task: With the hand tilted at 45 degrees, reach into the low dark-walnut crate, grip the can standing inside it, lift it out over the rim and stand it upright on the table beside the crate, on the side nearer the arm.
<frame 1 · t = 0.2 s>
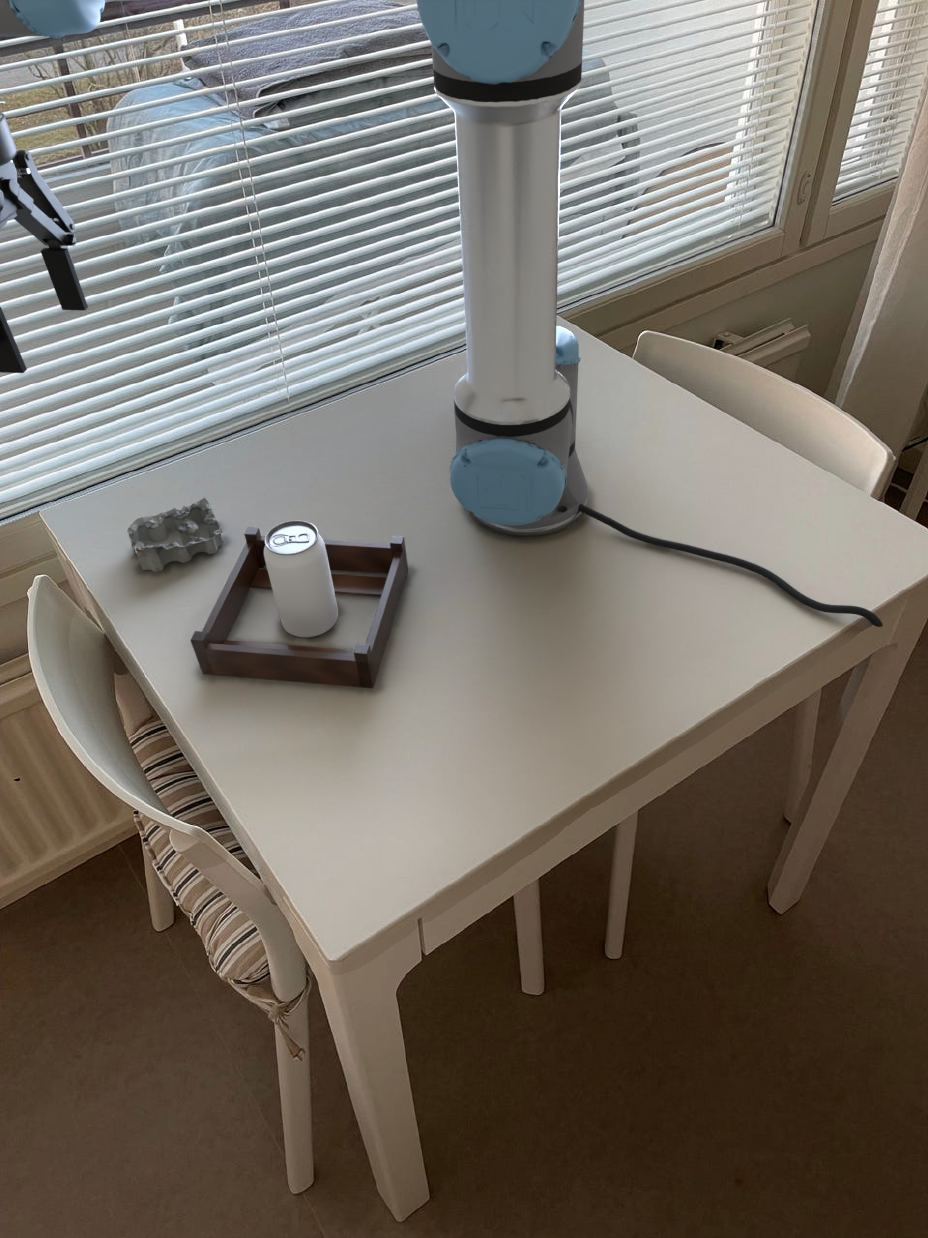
hand: (45, 338, 97), 28 cm above the table, tool pointing down, fingers open, 13 cm apart
can: (310, 620, 105), resting in crate
crate: (310, 619, 105), on the table
egg carton: (179, 547, 116), on the table
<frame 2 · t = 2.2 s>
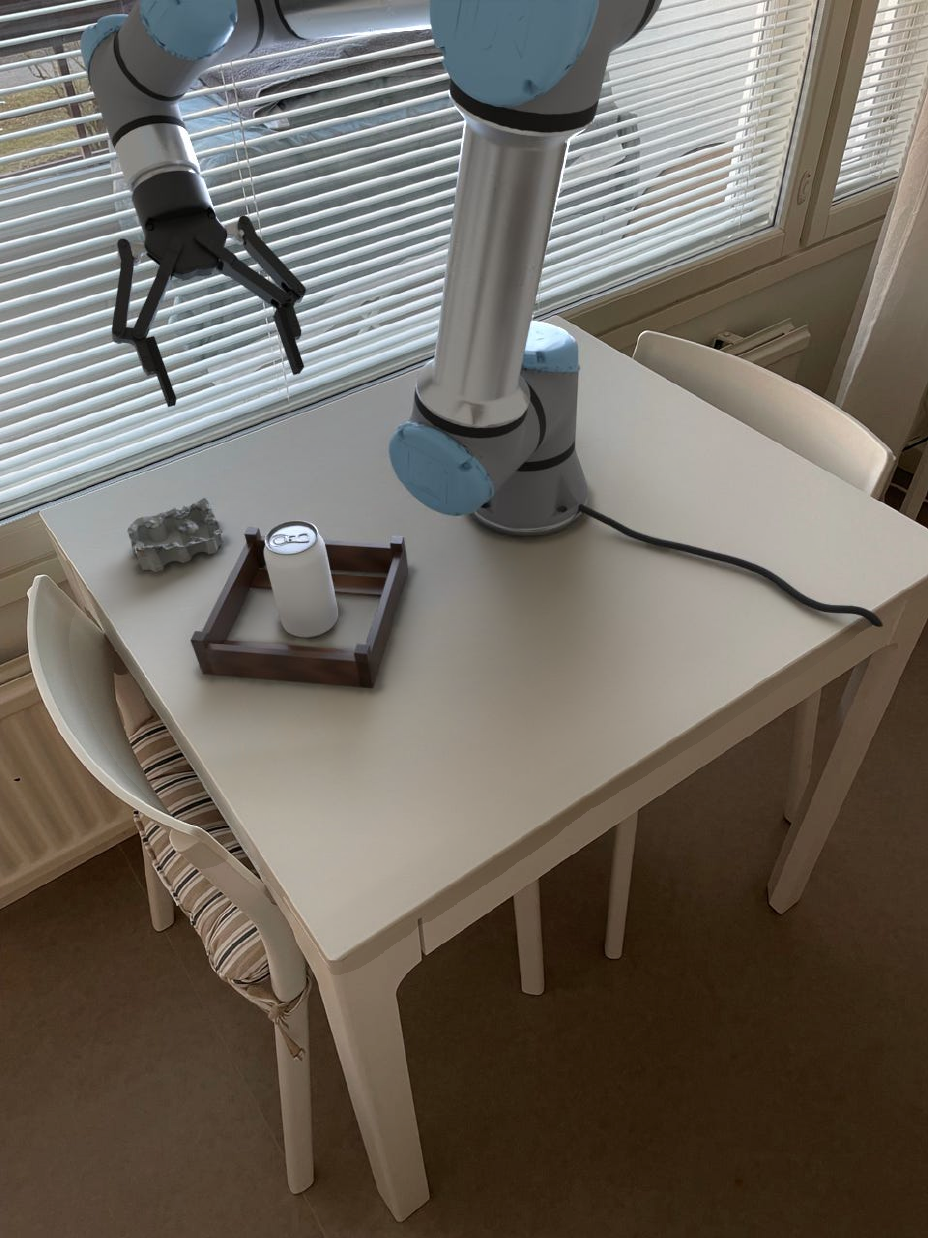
hand: (237, 387, 97), 23 cm above the table, tool tilted 40°, fingers open, 13 cm apart
nothing on the table moved.
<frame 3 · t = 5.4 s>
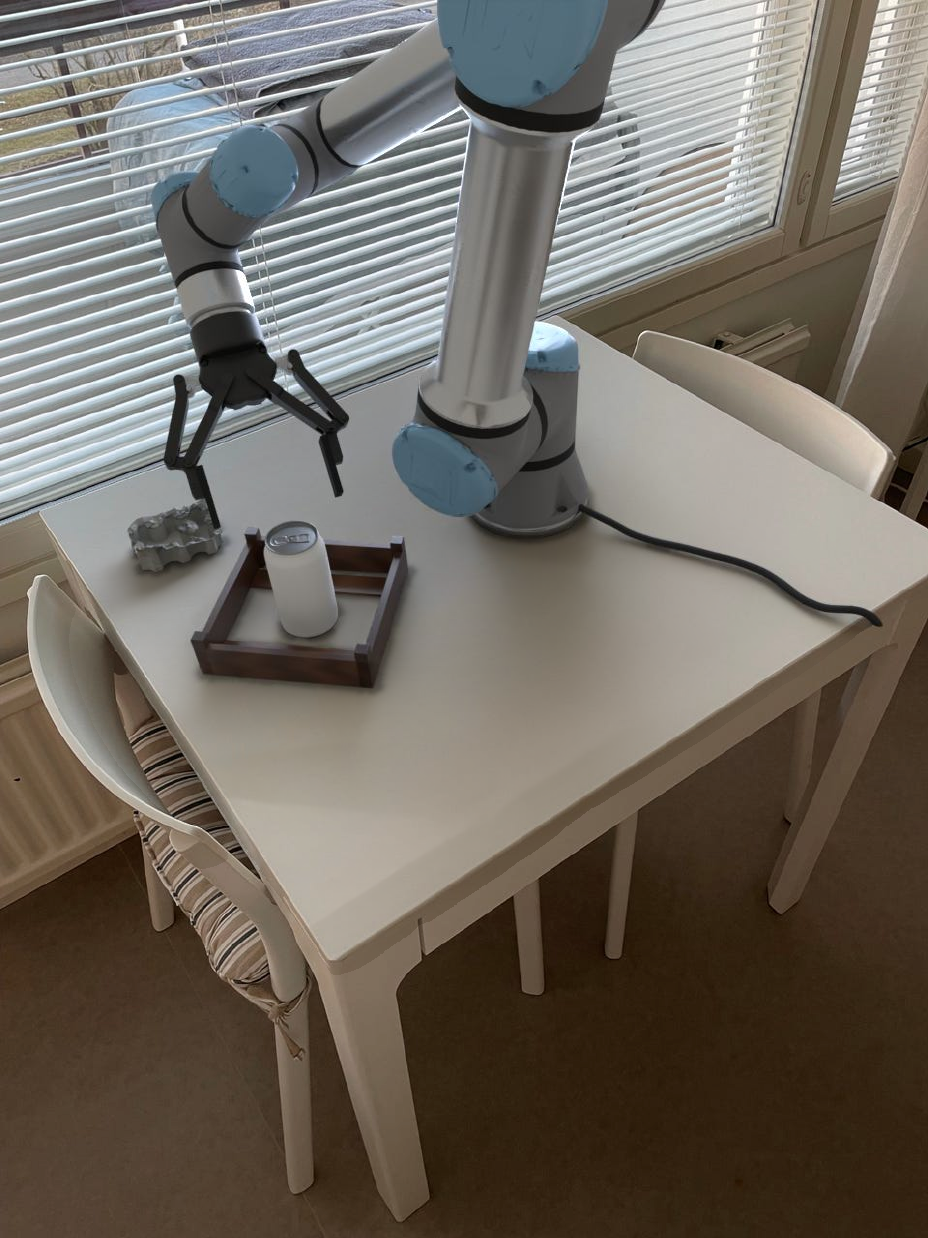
hand: (279, 510, 101), 11 cm above the table, tool tilted 45°, fingers open, 13 cm apart
nothing on the table moved.
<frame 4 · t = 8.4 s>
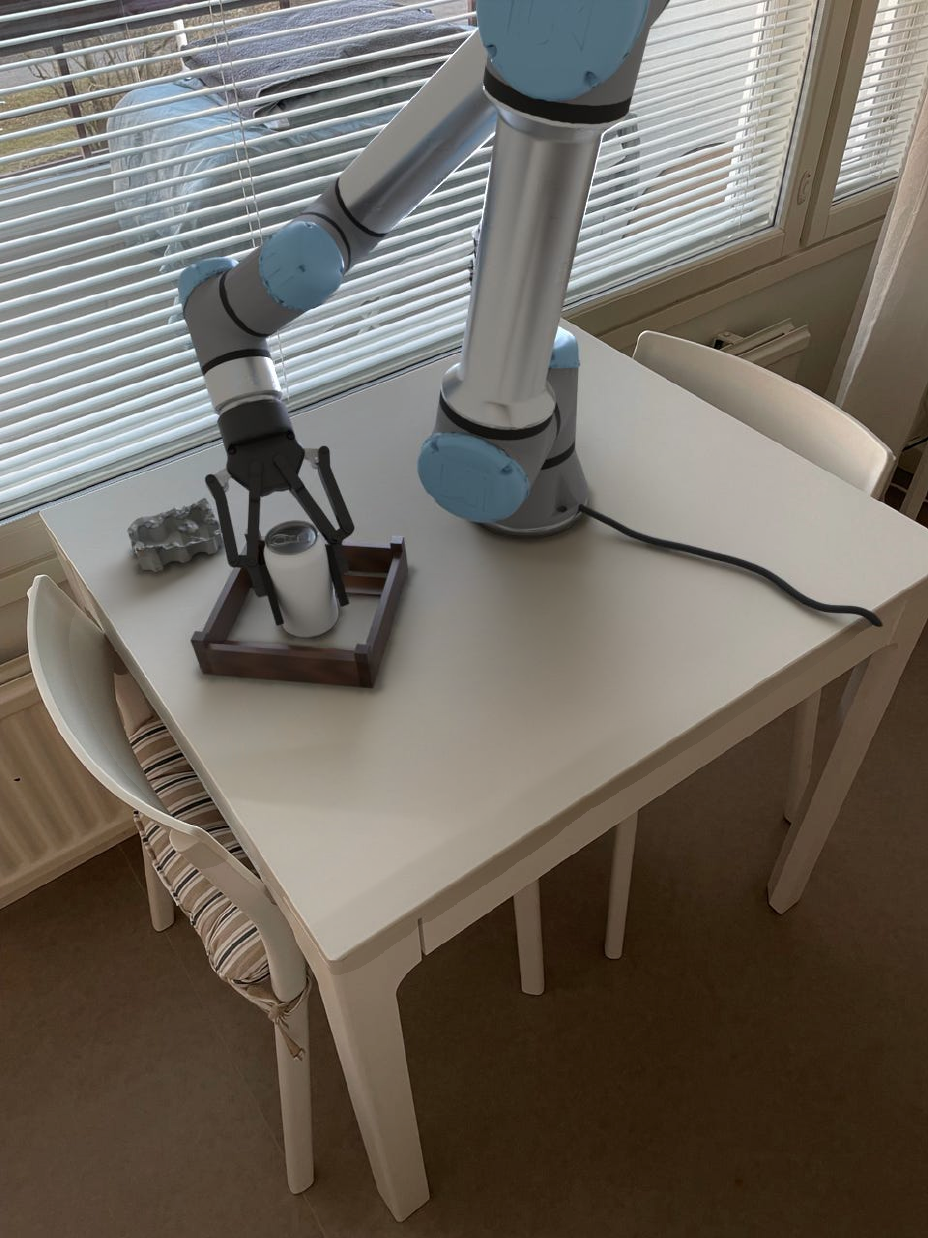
hand: (312, 614, 100), 4 cm above the table, tool tilted 45°, fingers closed on can, 6 cm apart
can: (310, 620, 105), resting in crate, touching gripper
everything else where it was.
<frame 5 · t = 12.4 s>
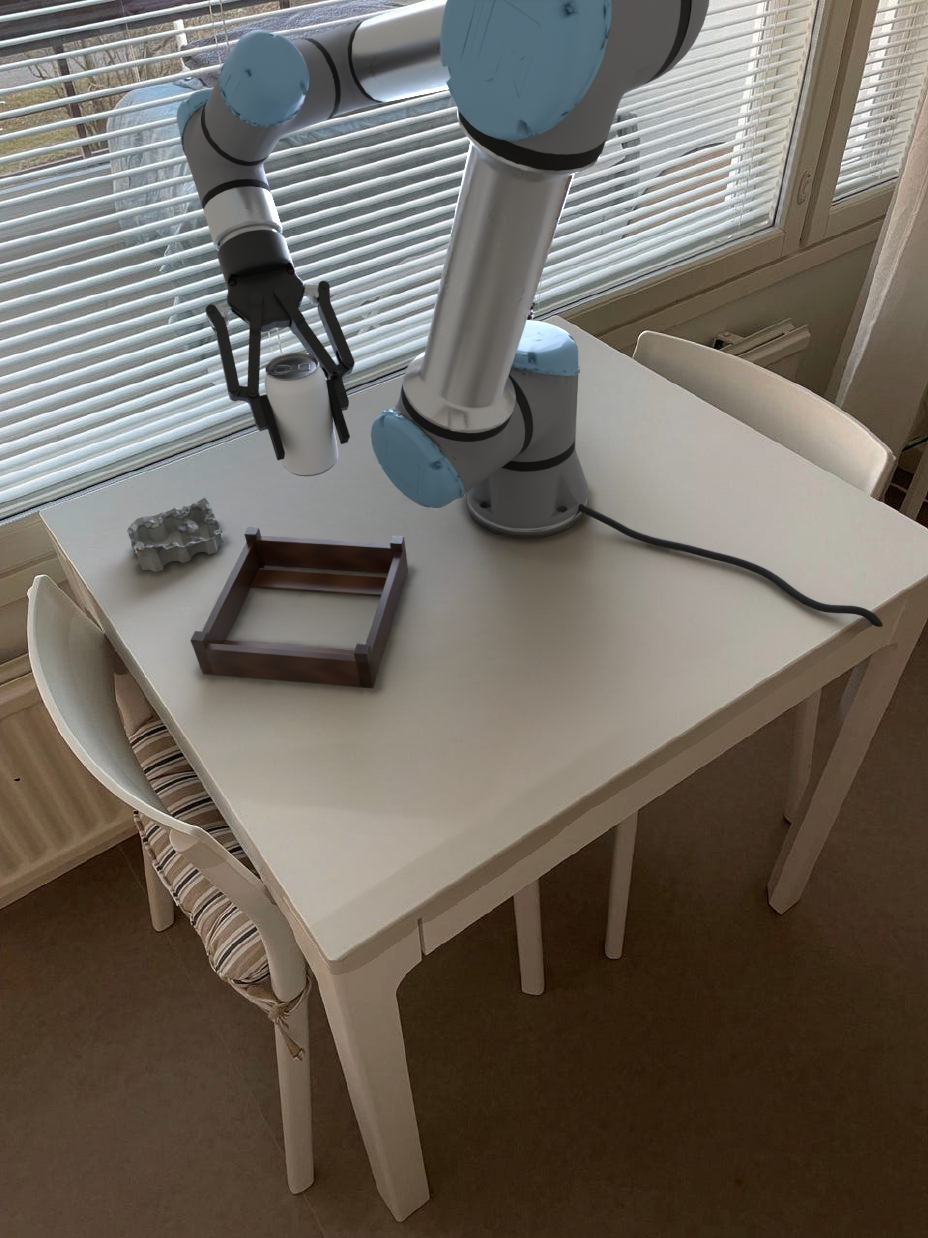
hand: (313, 448, 101), 16 cm above the table, tool tilted 45°, fingers closed on can, 6 cm apart
can: (311, 462, 106), point 12 cm above the table, touching gripper
everything else where it was.
when the fingers open (4 cm above the table, at t = 16.6 s): can stays where it is, on the table.
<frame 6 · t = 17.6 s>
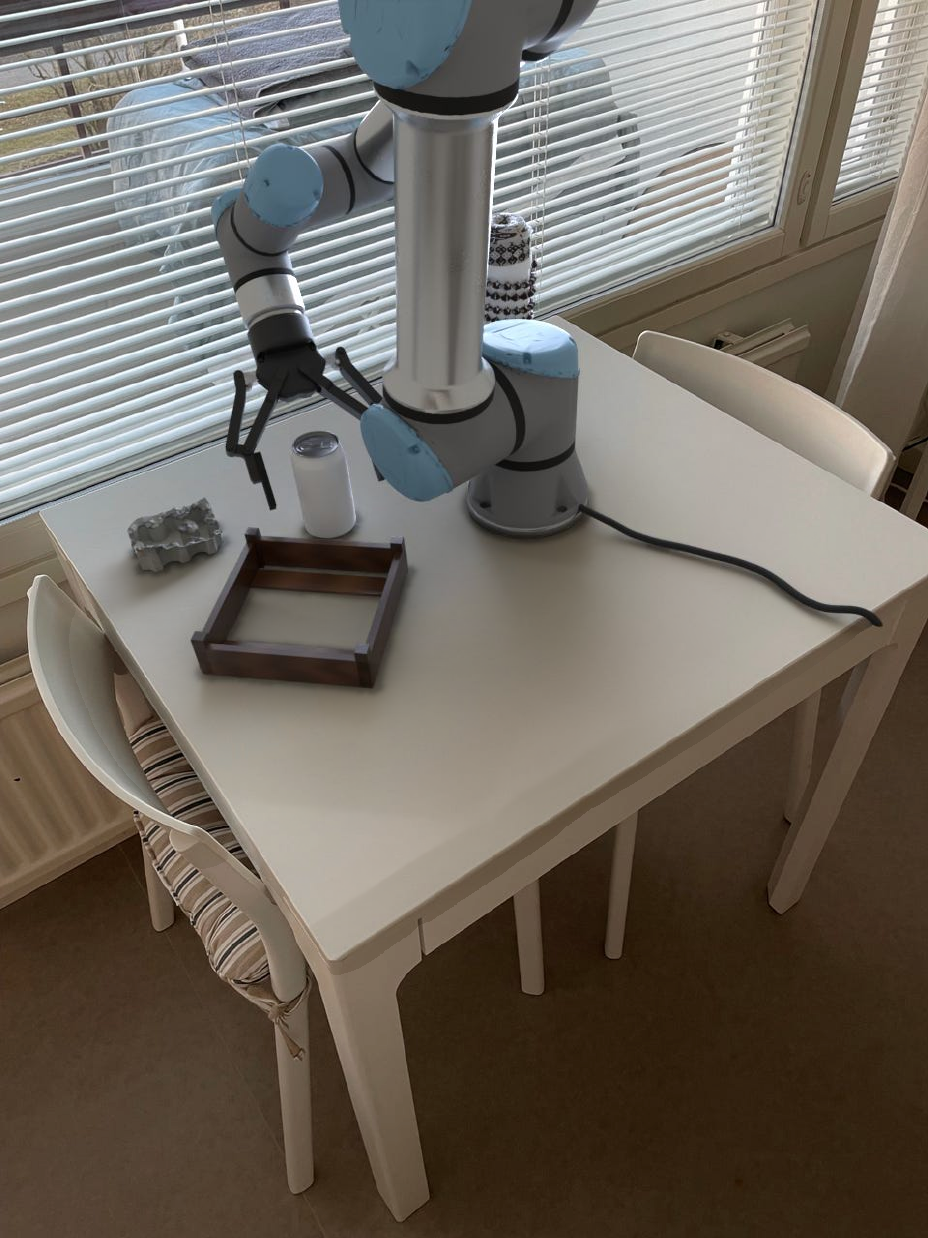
hand: (328, 493, 112), 6 cm above the table, tool tilted 45°, fingers open, 13 cm apart
can: (331, 525, 118), on the table
everything else where it was.
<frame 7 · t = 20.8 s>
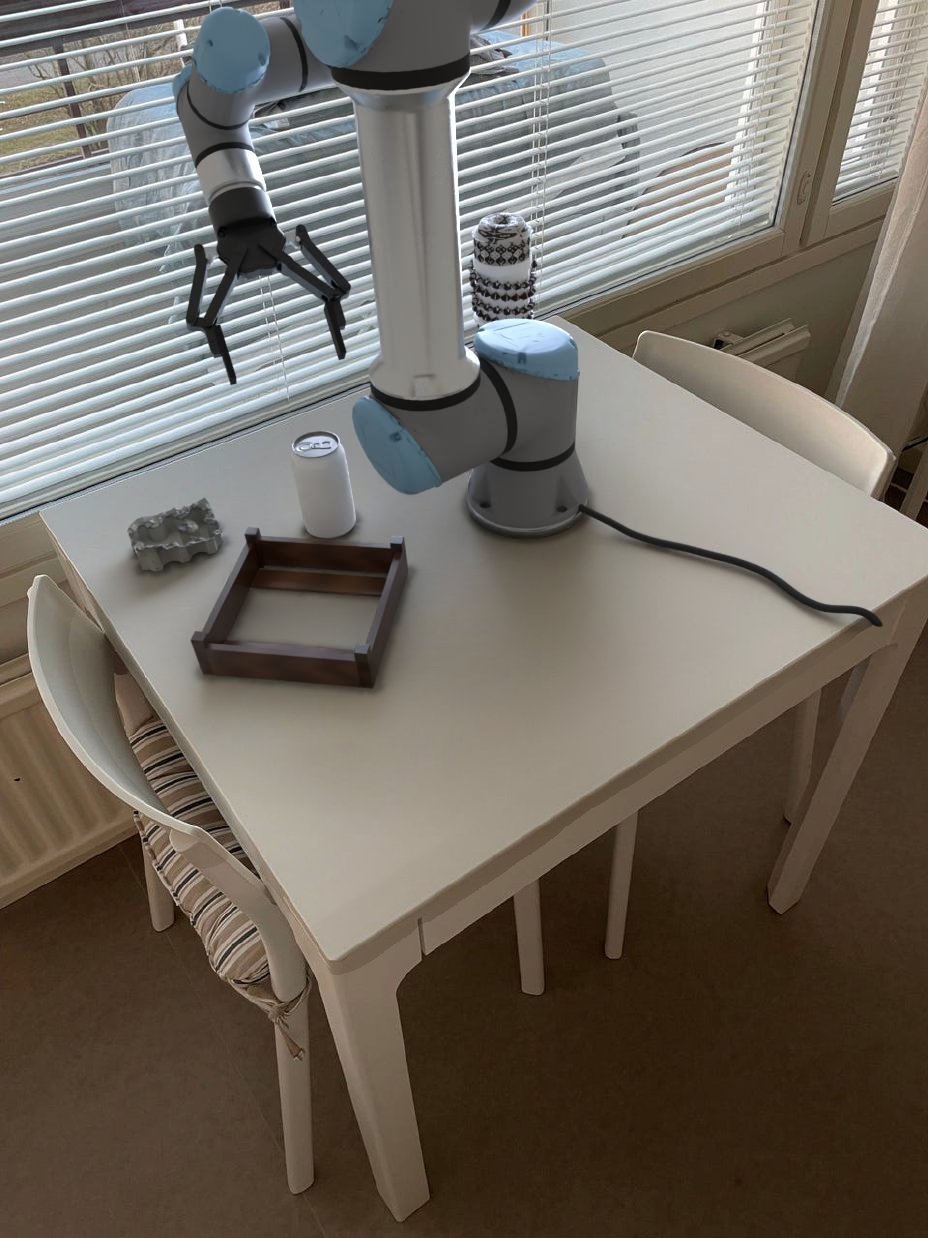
hand: (288, 368, 113), 17 cm above the table, tool tilted 45°, fingers open, 13 cm apart
nothing on the table moved.
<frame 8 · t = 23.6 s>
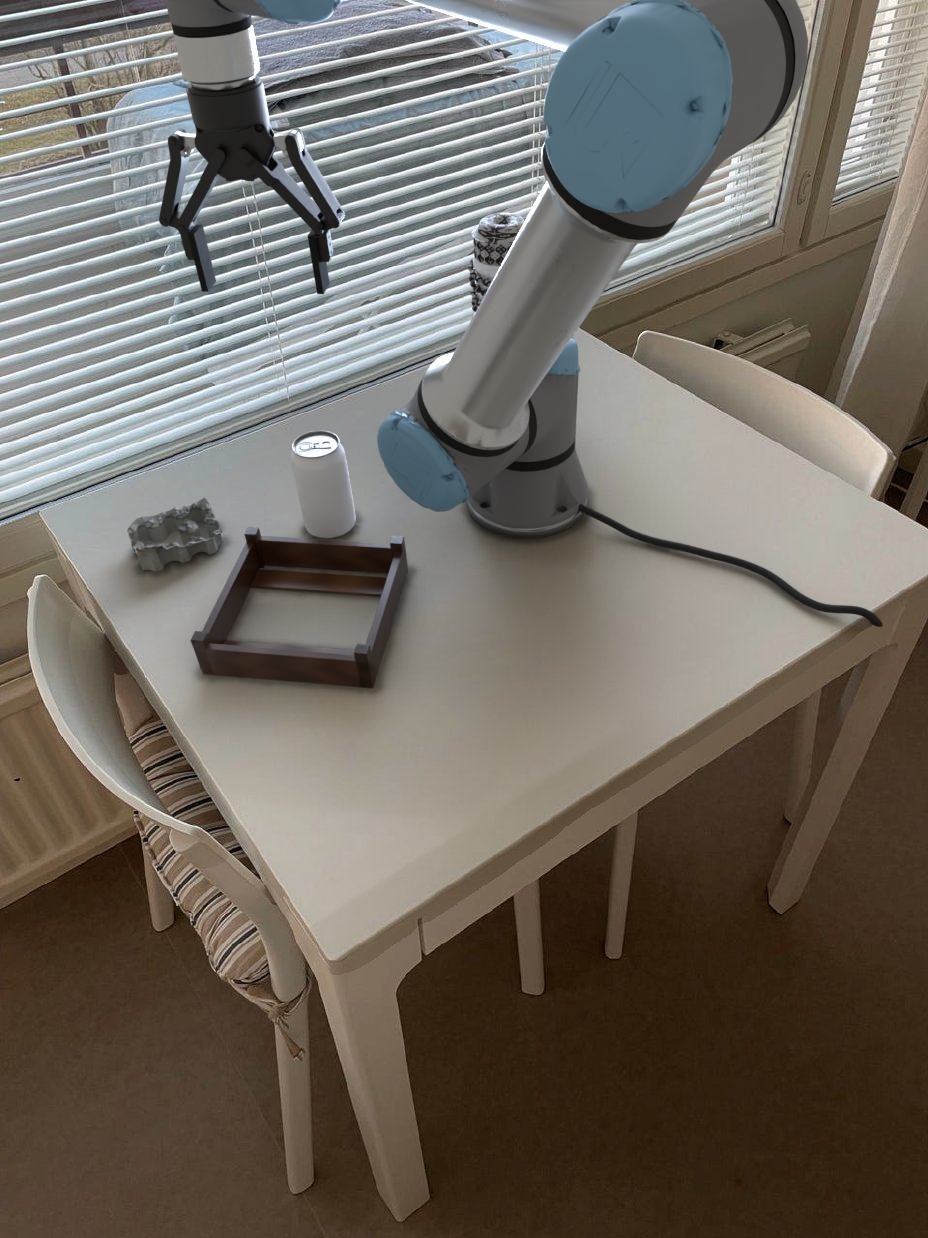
hand: (265, 287, 106), 27 cm above the table, tool pointing down, fingers open, 13 cm apart
nothing on the table moved.
at the end: can inside the target area (0.1 cm from its centre), on the table; can tilted 0°; the gripper is holding nothing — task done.
